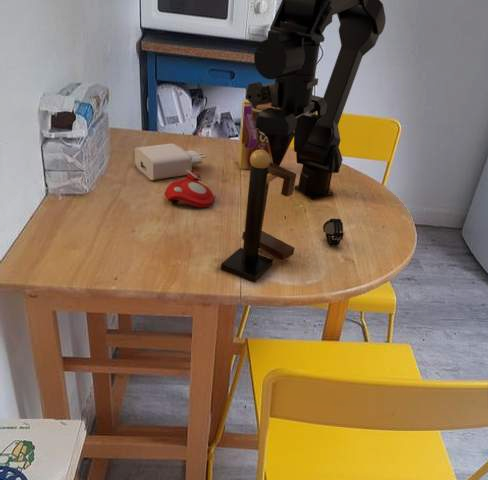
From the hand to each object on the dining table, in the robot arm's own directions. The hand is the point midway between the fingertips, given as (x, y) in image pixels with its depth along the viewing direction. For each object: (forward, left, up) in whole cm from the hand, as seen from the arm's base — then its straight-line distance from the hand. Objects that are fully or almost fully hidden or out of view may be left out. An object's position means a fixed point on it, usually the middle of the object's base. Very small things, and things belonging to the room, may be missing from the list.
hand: (286, 158), depth 94 cm
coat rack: (+15, +12, -12) cm, 22 cm away
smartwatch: (-2, +13, -12) cm, 18 cm away
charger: (+9, -28, -12) cm, 32 cm away
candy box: (-10, -23, -12) cm, 28 cm away
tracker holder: (+12, -14, -12) cm, 22 cm away
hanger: (+11, +11, -10) cm, 19 cm away
